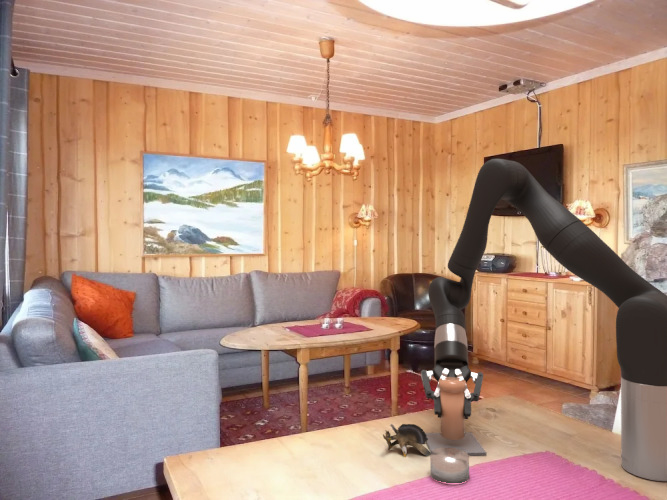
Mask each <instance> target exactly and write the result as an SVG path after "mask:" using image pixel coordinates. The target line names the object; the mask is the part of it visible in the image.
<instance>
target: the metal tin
mask: <svg viewBox="0 0 667 500" xmlns="http://www.w3.org/2000/svg"><path fill="white" fill-rule="evenodd" d="M429 456H430V477H431V479H433V480H434V479H435V480H437V481H441V482H446V483H462V482H465V481H467V480H468V479H469V480H470V456H469V455H468V454H467V453H466V452H464V451H462V450H459V449H456V448H448V447H444V448H437V449H434V450H432V451H431V452H430V455H429ZM435 480H434V481H435ZM469 480H468V481H469ZM437 481H436V482H437ZM468 481H467V482H468Z"/></svg>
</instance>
